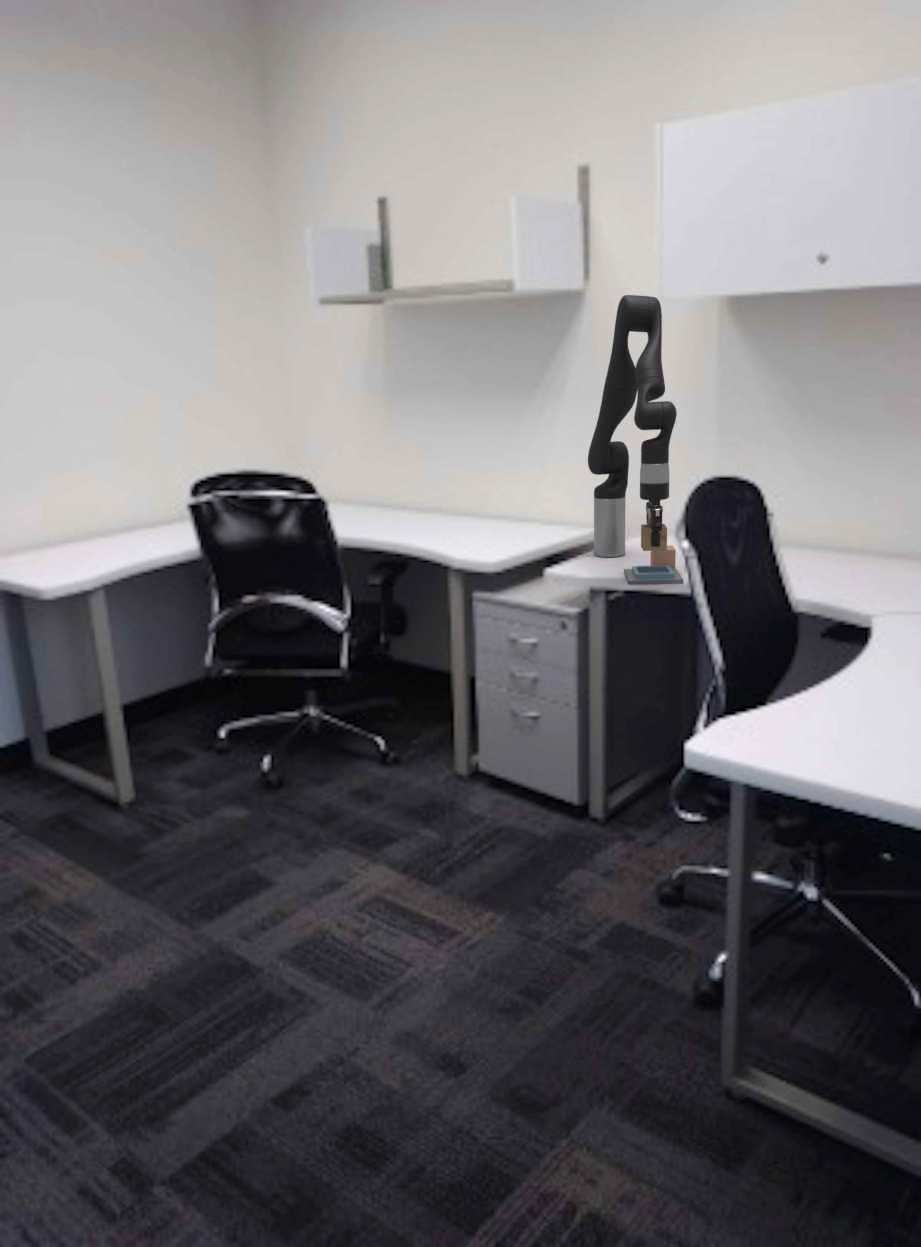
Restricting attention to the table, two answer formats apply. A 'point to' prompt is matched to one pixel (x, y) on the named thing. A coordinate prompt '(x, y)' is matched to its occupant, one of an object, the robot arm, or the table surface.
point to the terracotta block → (663, 557)
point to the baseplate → (652, 575)
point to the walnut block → (647, 538)
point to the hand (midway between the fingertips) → (653, 543)
